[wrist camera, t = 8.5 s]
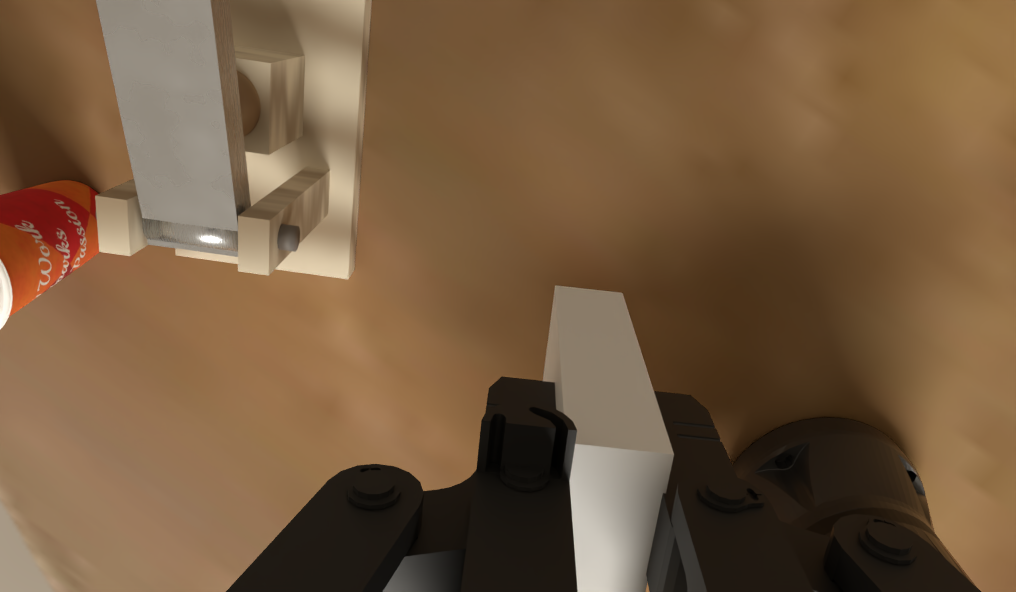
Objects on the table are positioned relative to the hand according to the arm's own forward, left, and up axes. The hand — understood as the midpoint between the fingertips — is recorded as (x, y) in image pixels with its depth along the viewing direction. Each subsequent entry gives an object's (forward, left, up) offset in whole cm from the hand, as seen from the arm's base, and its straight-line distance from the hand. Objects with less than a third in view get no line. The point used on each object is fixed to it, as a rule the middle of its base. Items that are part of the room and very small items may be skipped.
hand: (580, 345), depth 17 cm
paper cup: (-11, +32, -35) cm, 49 cm away
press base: (+4, +18, -35) cm, 39 cm away
